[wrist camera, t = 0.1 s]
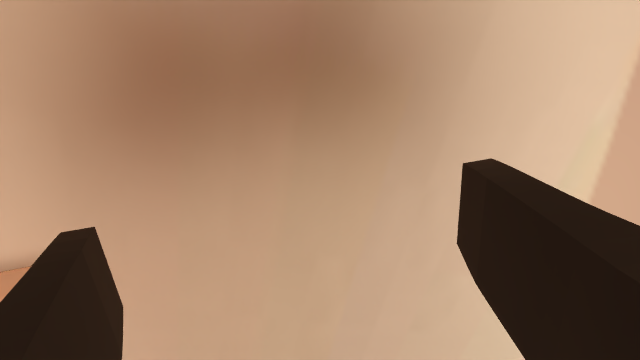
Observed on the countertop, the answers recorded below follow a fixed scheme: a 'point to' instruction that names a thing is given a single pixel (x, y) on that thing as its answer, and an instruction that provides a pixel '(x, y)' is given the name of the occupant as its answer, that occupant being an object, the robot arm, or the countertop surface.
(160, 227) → the countertop surface
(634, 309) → the robot arm
